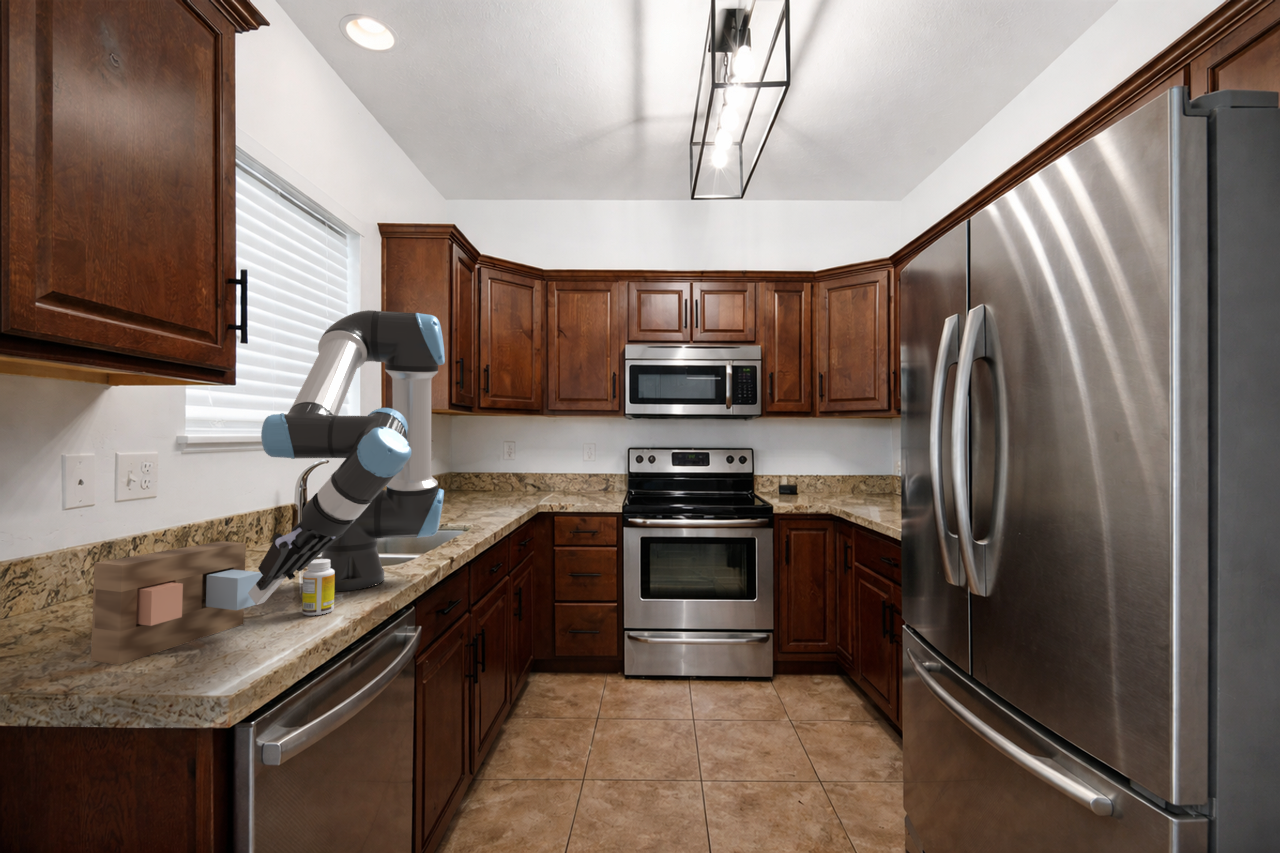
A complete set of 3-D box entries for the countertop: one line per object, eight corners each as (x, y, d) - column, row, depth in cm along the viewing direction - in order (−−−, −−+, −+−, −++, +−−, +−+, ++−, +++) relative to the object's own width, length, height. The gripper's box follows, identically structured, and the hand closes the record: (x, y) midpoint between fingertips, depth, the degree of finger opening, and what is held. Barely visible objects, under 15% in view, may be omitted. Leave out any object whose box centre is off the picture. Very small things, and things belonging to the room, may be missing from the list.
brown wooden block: (218, 621, 107) (221, 541, 107) (243, 624, 105) (245, 543, 105) (91, 660, 87) (94, 562, 88) (118, 665, 86) (122, 565, 86)
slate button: (231, 599, 102) (232, 569, 103) (261, 602, 101) (262, 572, 101) (205, 606, 98) (206, 575, 98) (236, 610, 96) (237, 578, 96)
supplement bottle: (334, 606, 116) (335, 556, 117) (333, 614, 111) (334, 562, 112) (303, 610, 114) (304, 559, 114) (300, 618, 109) (301, 564, 109)
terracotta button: (150, 612, 94) (151, 580, 94) (181, 617, 92) (182, 583, 92) (118, 621, 90) (119, 587, 90) (150, 625, 88) (151, 590, 88)
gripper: (353, 485, 101) (277, 572, 105) (291, 492, 88) (206, 590, 92) (378, 516, 99) (299, 604, 103) (318, 527, 87) (231, 626, 91)
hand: (255, 597), depth 98 cm, fingers closed
